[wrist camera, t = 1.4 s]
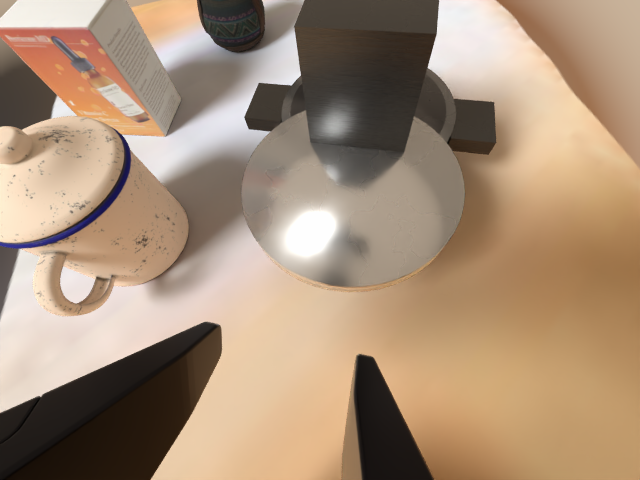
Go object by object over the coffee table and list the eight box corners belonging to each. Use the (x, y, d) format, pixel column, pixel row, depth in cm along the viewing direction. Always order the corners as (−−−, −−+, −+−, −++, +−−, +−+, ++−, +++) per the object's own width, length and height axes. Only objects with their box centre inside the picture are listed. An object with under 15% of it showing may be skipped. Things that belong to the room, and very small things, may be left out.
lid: (455, 313, 15) (561, 250, 8) (217, 269, 17) (124, 186, 10) (459, 124, 21) (524, -19, 13) (277, 107, 23) (245, -26, 15)
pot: (468, 232, 23) (501, 193, 18) (246, 200, 26) (223, 158, 21) (468, 114, 29) (494, 58, 24) (283, 97, 31) (272, 44, 26)
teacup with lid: (101, 199, 27) (-49, 86, 17) (198, 189, 27) (107, 67, 17) (63, 334, 22) (-189, 293, 12) (182, 323, 22) (35, 270, 11)
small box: (95, 135, 31) (-14, 27, 21) (116, 97, 33) (26, -15, 24) (167, 138, 30) (86, 26, 21) (183, 99, 32) (118, -17, 23)
